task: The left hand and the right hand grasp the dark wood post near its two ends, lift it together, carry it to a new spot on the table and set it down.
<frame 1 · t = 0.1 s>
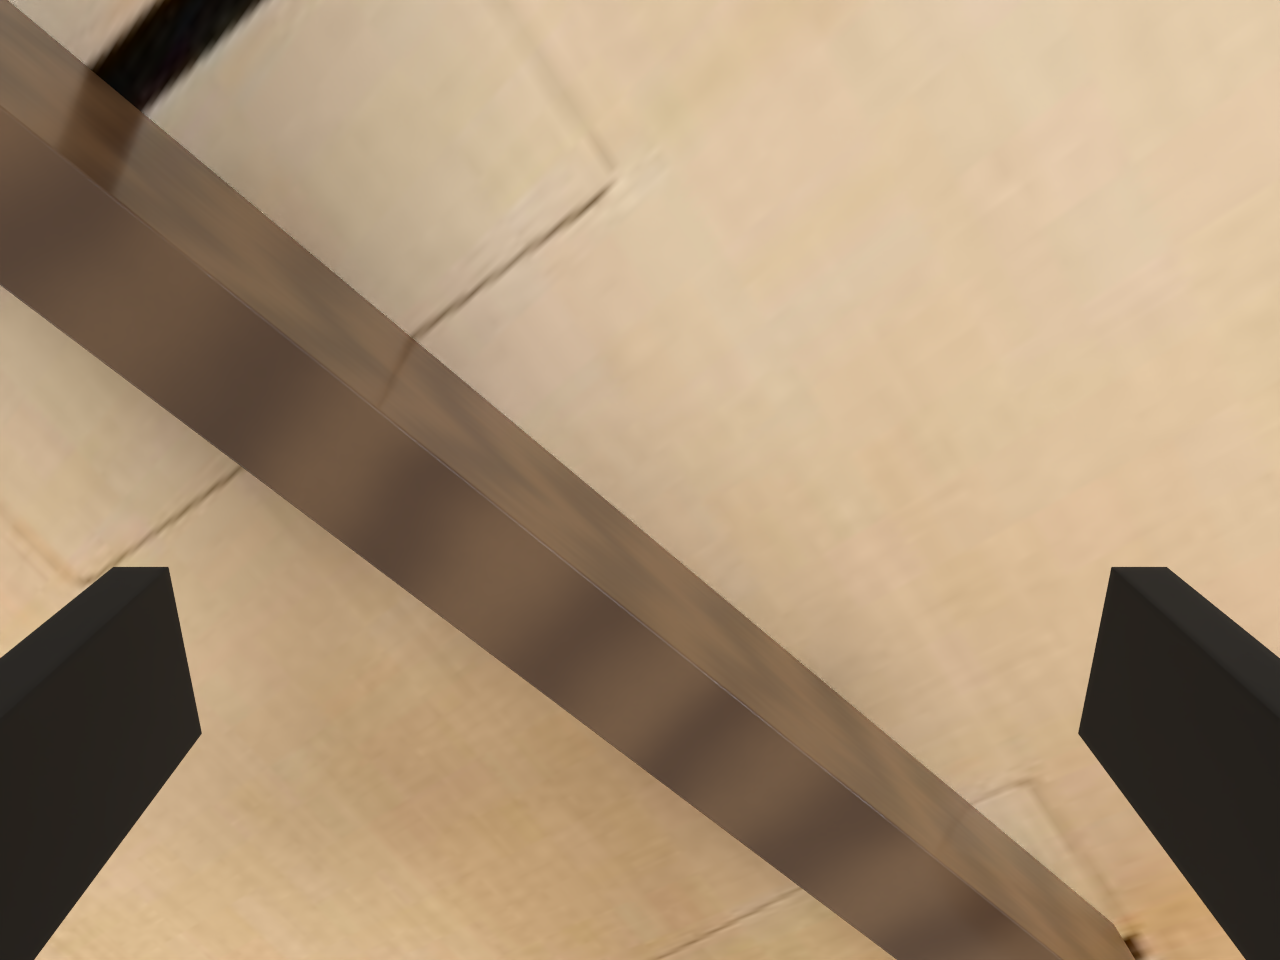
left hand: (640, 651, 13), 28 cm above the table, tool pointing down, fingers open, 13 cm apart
post: (582, 545, 43), on the table
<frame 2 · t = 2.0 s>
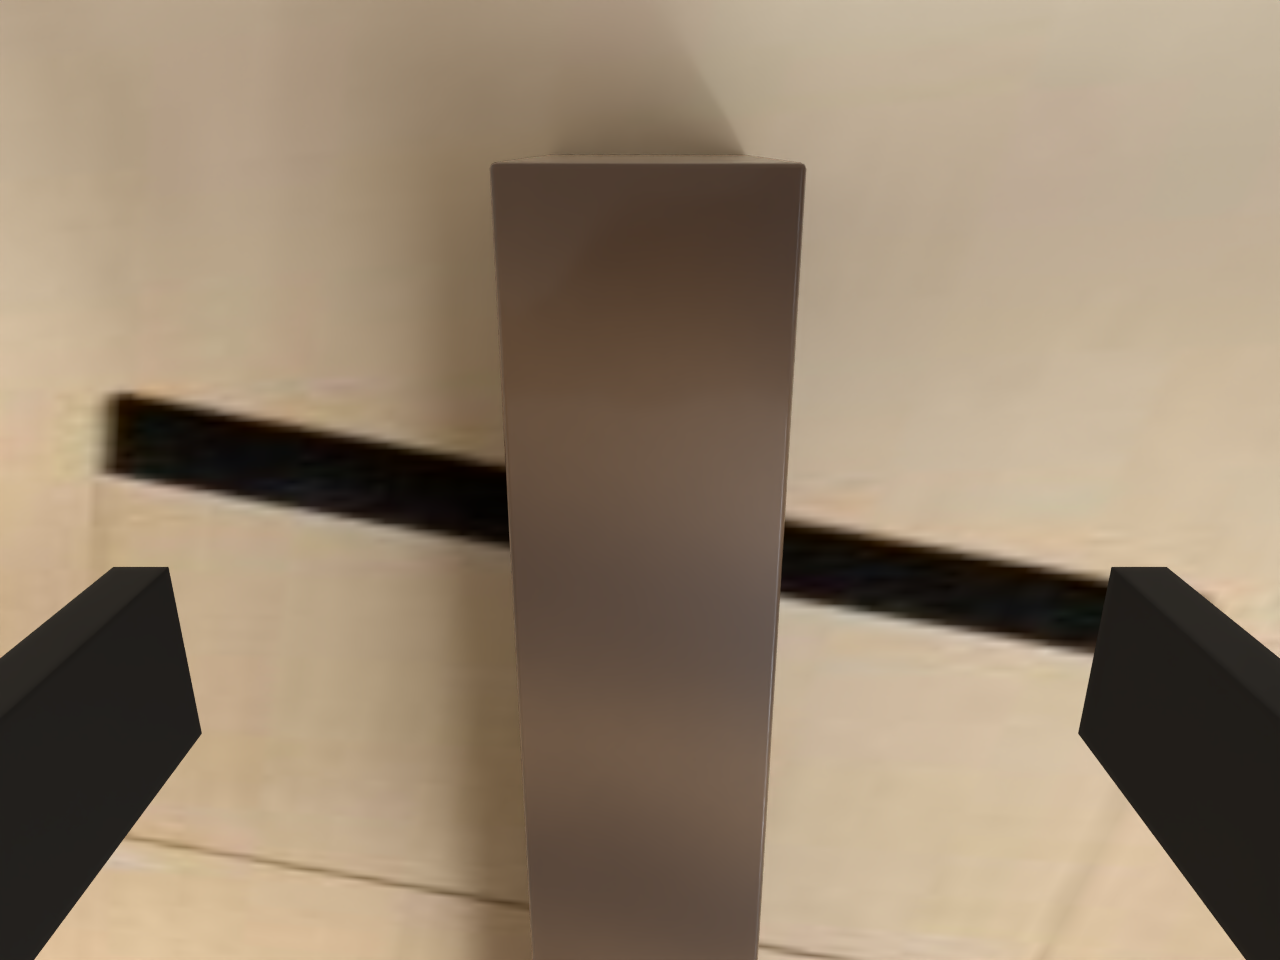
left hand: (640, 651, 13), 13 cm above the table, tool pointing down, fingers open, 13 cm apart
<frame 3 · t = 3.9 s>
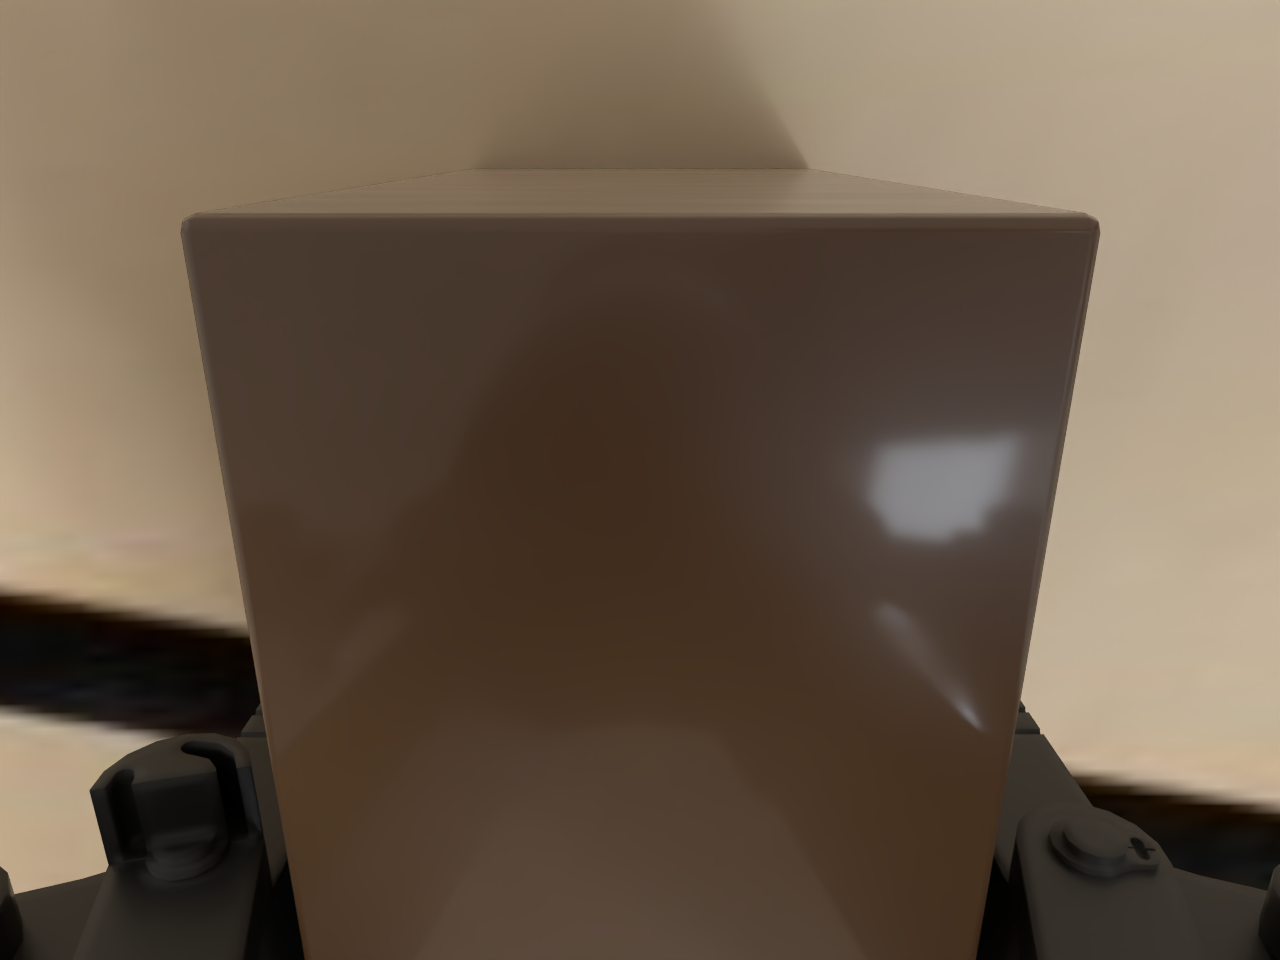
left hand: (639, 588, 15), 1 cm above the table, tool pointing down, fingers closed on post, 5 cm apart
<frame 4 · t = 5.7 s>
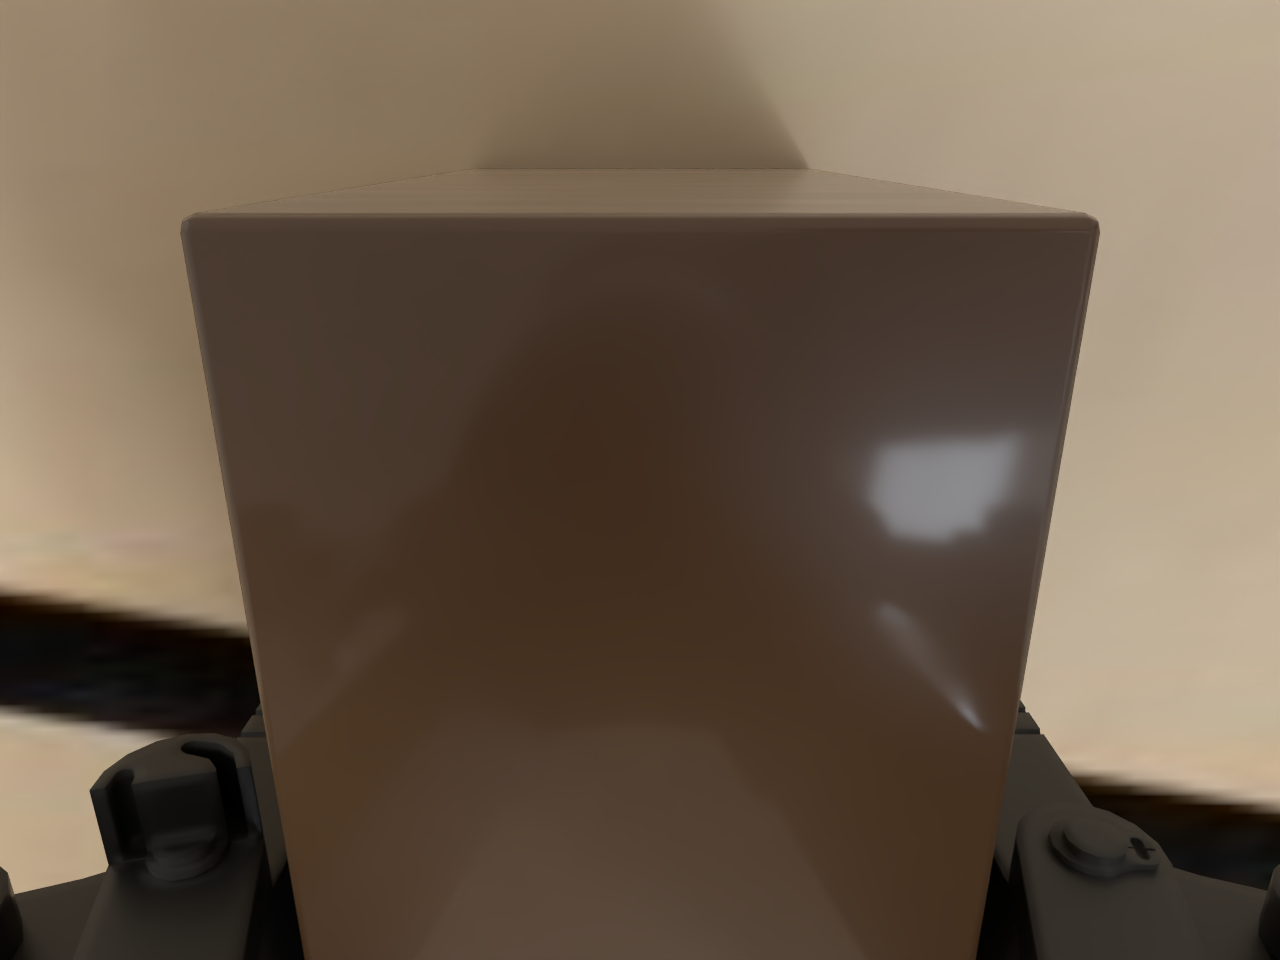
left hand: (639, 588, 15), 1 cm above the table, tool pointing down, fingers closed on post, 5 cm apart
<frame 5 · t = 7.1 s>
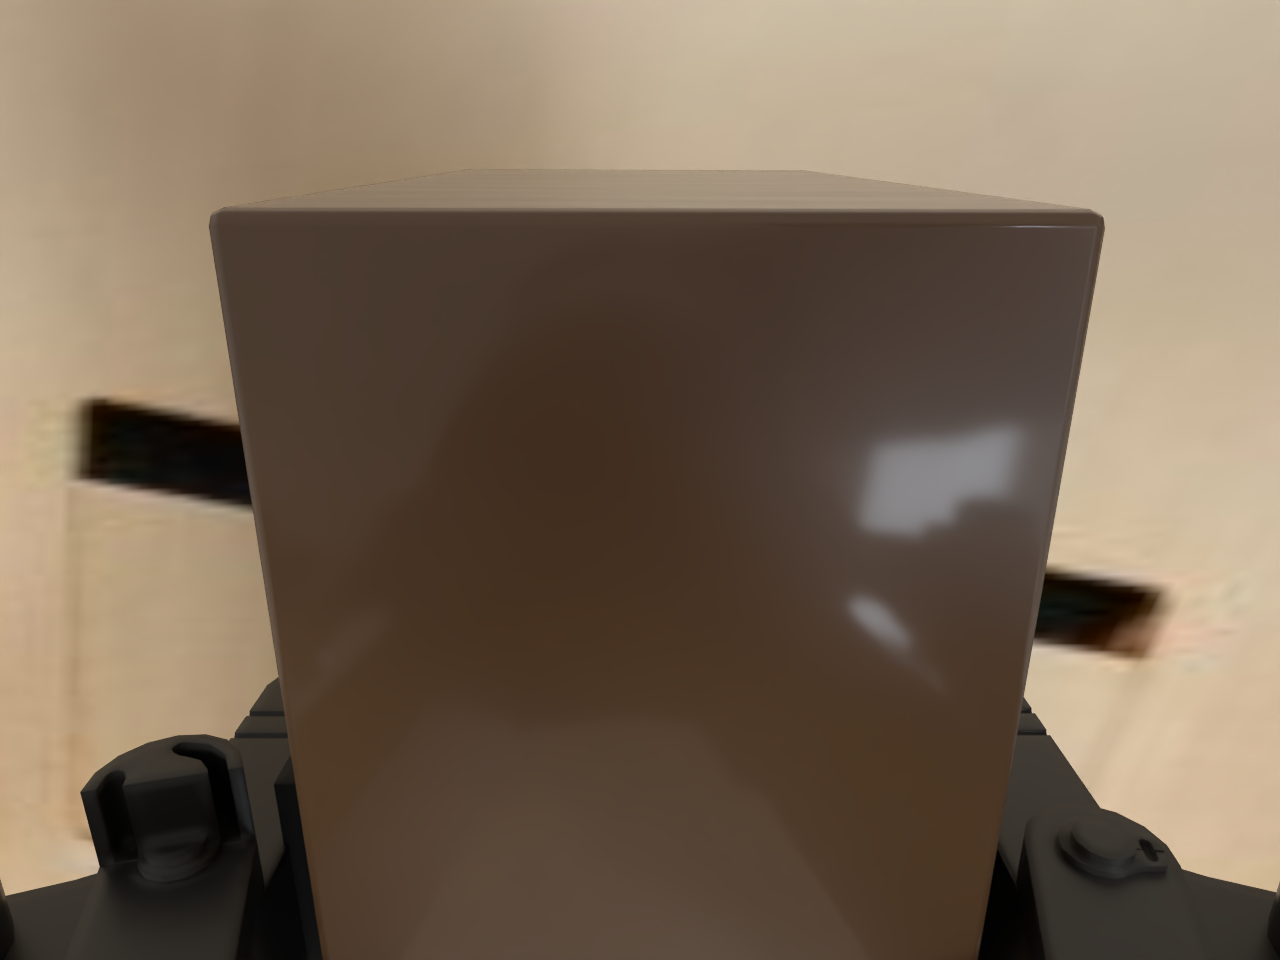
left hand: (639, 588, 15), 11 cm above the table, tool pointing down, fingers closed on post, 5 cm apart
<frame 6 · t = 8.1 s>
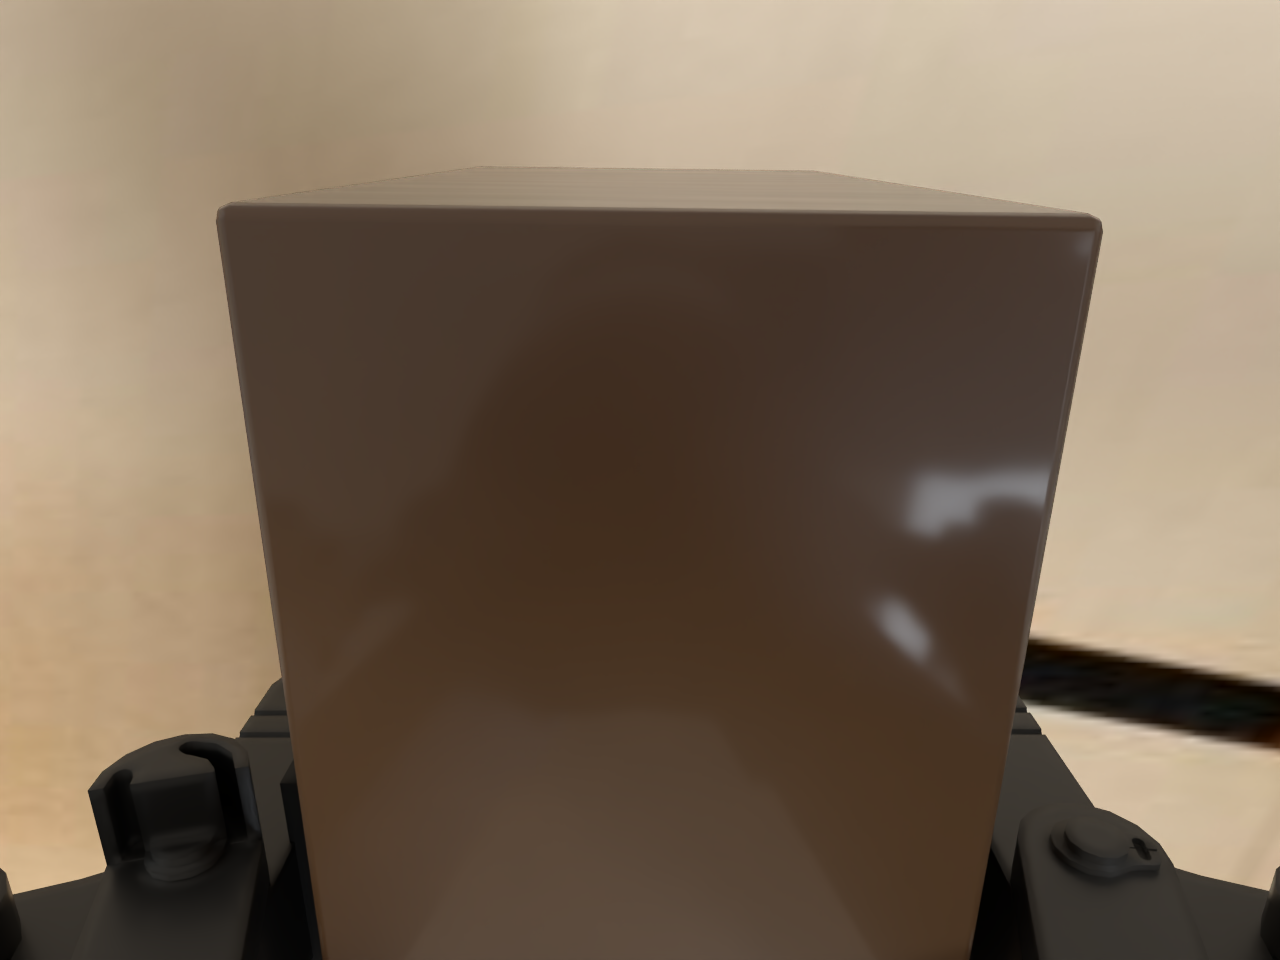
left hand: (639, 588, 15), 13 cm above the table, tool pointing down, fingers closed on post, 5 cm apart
when the left hand's fingers open (1 cm above the table, at t = 10.7 s): post stays where it is, on the table.
when the right hand's fingers open (5 cm above the table, at t = 10.8 s): post stays where it is, on the table.
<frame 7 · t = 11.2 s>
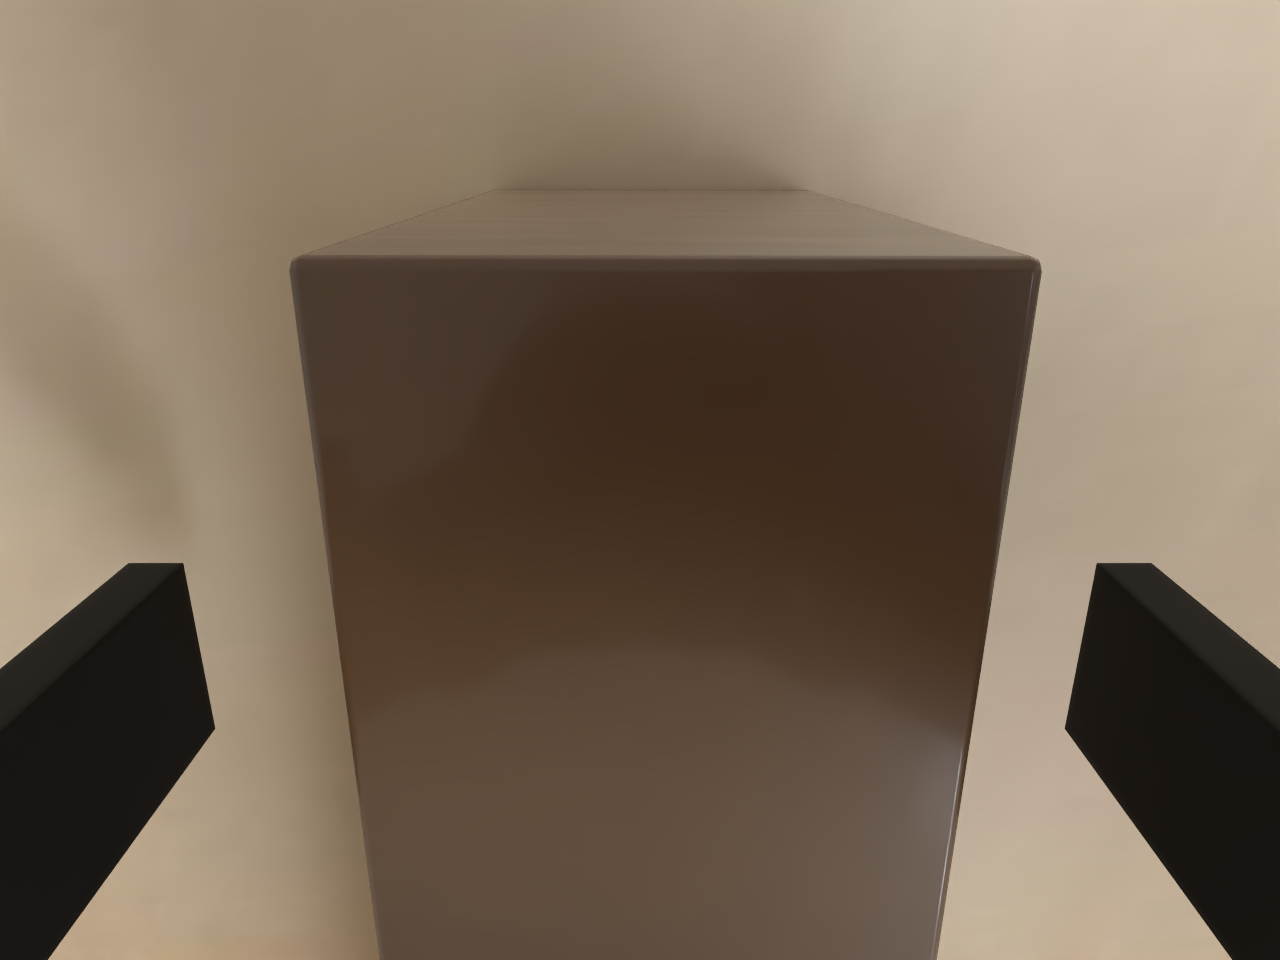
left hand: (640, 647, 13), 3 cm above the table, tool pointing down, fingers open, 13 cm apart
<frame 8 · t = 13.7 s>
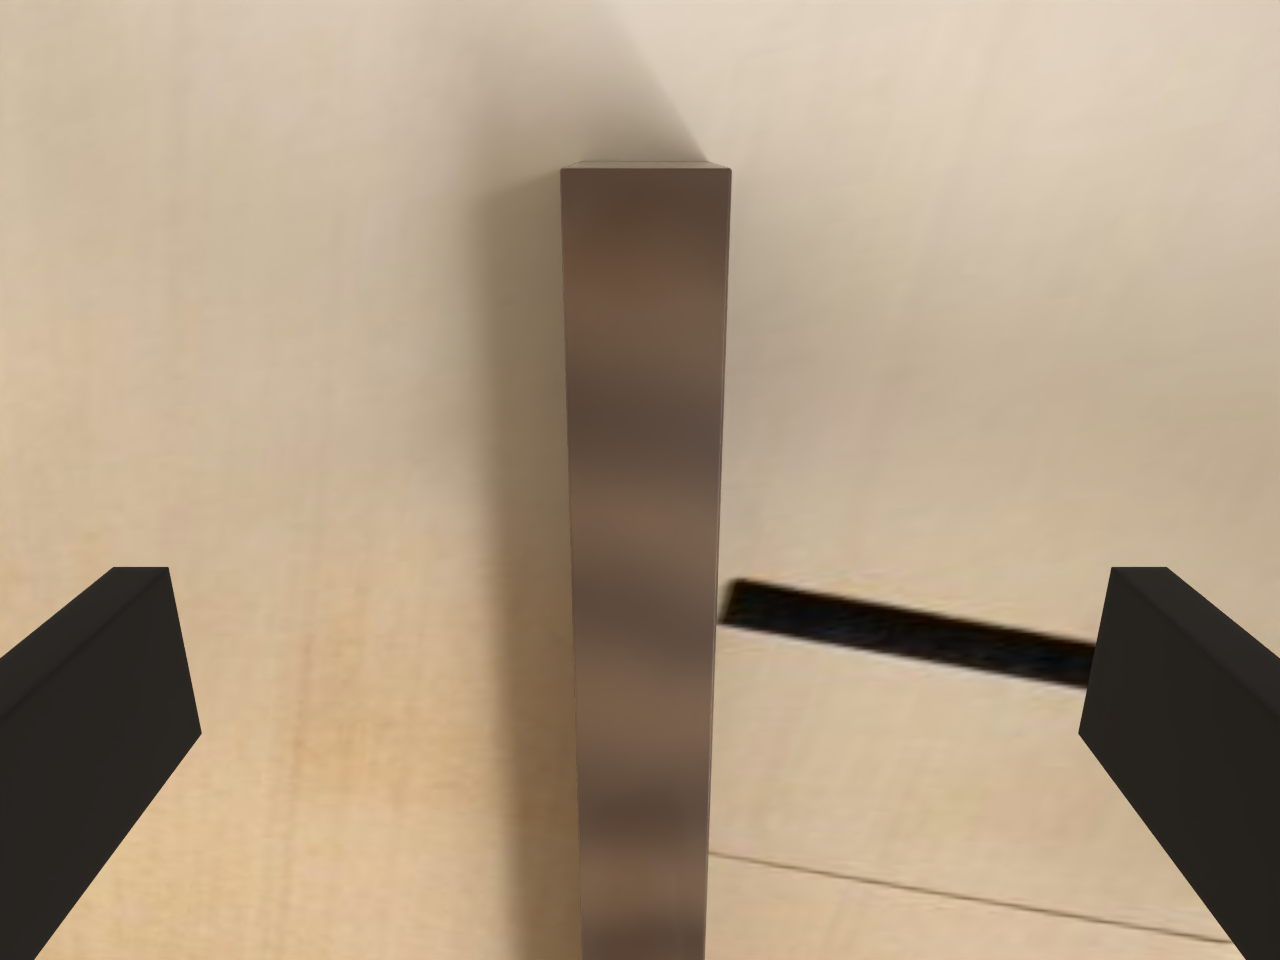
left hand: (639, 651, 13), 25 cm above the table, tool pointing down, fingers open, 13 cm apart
post: (642, 918, 48), on the table
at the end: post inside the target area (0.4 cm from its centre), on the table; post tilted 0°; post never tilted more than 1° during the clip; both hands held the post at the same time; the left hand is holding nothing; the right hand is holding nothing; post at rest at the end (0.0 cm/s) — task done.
